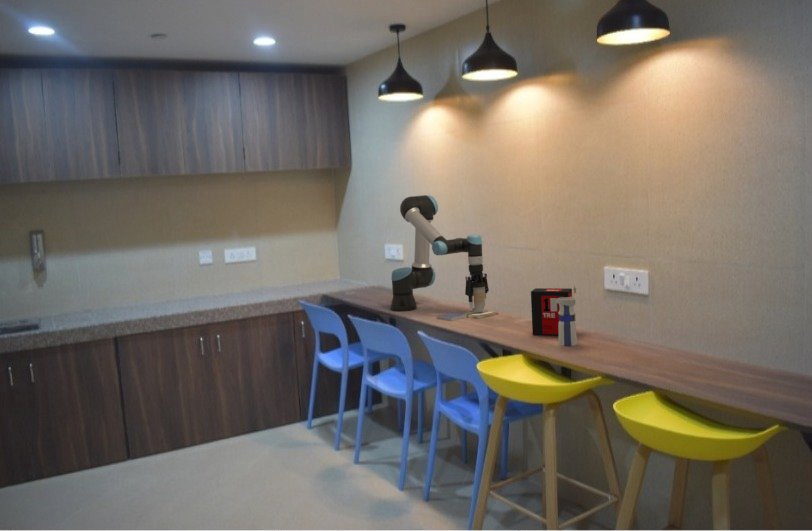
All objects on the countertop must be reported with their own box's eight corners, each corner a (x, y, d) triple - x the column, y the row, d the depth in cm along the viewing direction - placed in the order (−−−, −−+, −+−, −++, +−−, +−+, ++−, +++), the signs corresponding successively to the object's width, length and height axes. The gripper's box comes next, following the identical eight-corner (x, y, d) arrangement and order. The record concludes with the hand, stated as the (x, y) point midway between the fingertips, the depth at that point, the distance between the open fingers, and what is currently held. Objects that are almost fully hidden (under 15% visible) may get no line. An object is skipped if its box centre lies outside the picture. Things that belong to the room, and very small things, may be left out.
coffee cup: (486, 311, 361) (484, 283, 359) (468, 312, 363) (466, 284, 361) (487, 308, 370) (486, 280, 368) (470, 309, 372) (468, 281, 370)
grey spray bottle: (577, 341, 295) (576, 283, 292) (578, 346, 286) (576, 286, 284) (558, 341, 297) (556, 284, 294) (558, 346, 288) (555, 287, 285)
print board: (458, 315, 368) (458, 313, 368) (478, 311, 377) (478, 309, 377) (478, 318, 356) (478, 316, 356) (498, 314, 365) (498, 311, 365)
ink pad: (437, 318, 364) (437, 315, 363) (452, 315, 370) (452, 312, 370) (451, 321, 355) (451, 317, 355) (466, 317, 362) (466, 314, 362)
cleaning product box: (532, 335, 312) (530, 291, 309) (537, 331, 320) (535, 288, 317) (569, 336, 305) (567, 291, 303) (573, 332, 313) (571, 288, 311)
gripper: (466, 266, 354) (468, 310, 357) (494, 262, 367) (496, 304, 370) (456, 266, 360) (458, 309, 363) (484, 261, 373) (486, 303, 375)
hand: (477, 306), depth 366 cm, fingers closed on coffee cup, 8 cm apart
